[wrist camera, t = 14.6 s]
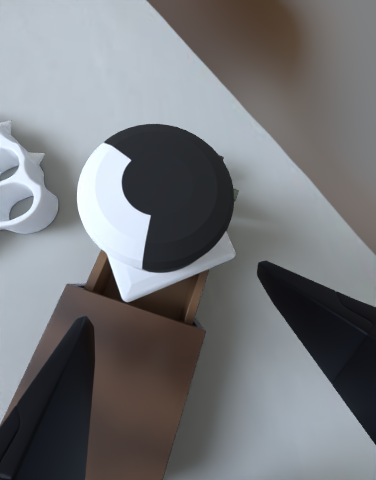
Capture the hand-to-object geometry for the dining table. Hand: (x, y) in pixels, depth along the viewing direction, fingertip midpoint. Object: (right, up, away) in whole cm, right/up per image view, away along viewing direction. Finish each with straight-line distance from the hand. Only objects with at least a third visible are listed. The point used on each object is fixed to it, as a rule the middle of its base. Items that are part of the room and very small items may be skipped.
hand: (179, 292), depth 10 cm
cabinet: (-7, -12, +10) cm, 17 cm away
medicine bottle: (-2, +2, +9) cm, 9 cm away
